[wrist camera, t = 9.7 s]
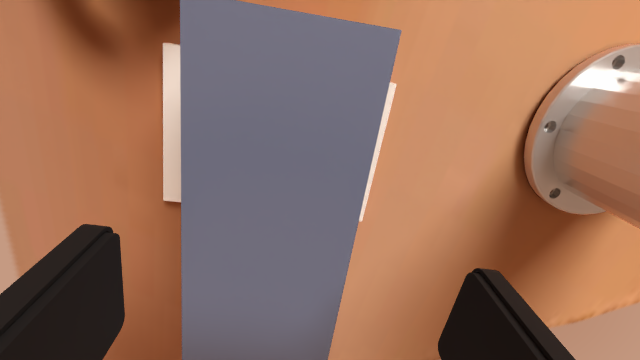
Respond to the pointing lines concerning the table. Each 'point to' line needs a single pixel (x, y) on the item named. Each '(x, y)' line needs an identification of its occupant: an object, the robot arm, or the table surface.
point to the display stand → (174, 127)
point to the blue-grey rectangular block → (272, 173)
